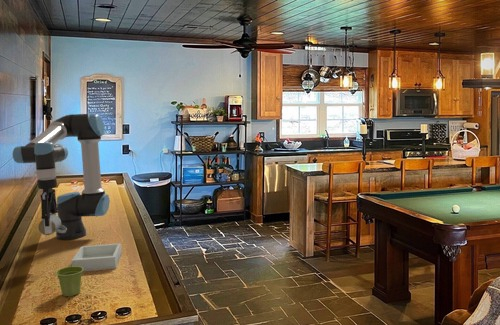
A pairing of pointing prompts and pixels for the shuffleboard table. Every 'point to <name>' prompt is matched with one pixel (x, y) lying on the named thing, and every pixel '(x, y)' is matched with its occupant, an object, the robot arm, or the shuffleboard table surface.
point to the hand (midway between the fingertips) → (51, 230)
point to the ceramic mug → (53, 225)
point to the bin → (98, 257)
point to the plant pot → (70, 280)
